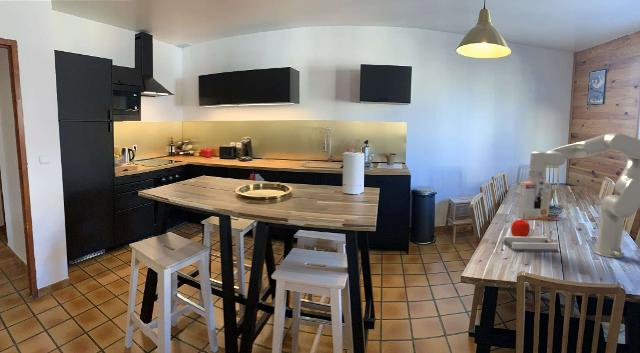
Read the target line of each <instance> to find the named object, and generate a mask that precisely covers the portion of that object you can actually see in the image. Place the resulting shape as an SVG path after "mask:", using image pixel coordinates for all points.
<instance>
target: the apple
mask: <svg viewBox="0 0 640 353" xmlns="http://www.w3.org/2000/svg"><path fill="white" fill-rule="evenodd" d="M530 231H531V226H530V223H529V222H528V221H527V220H521V219H516V220H514V221H513V222H512V224H511V227H510V232H511V235H512V236H513V237H529V234H530Z"/></svg>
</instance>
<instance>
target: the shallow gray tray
mask: <svg viewBox="0 0 640 353" xmlns="http://www.w3.org/2000/svg"><path fill="white" fill-rule="evenodd" d="M503 243H504V244H503ZM502 244H503V245H504V246H506V247H507V246H508V247H507V248H509V249H510V248H511V249H510V250H511V251H513V250H524V251H525V252H527V251H528V252H529V251H530V252H532V251H533V252H534V251H535V252H559V243H558V242H551V241H549V240H548V237H547V236H527V237H513V235H512V236H509V235H508V236H503V237H502ZM524 251H523V252H524Z"/></svg>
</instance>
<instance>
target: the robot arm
mask: <svg viewBox="0 0 640 353" xmlns="http://www.w3.org/2000/svg"><path fill="white" fill-rule="evenodd" d="M609 151H616V152H619V153H621V154H623V155H624V157H625V159H626V164H625V167H624V169H623V170H622V172H621V173H620V176H619V177H618V179H617V180H616V181H615V183H614V189H615V191H616V192H618V193H619V194H620V195H617V194H608V195H606V196H603V198H602V199H601V202H600V223H599V227H598V228H599V229H598V237H597V242H596V244H597V245H596V247H593V248H592V252H593V253H595V254H597V255H599V256H602V257H605V258H611V259H612V258H613V259H621V258H624V256H625V253H624V252H622V248H621V245H622V238H623V231H624V225H625V219H626V218H627V219H628V218H631V217H633V216H634V215H635V213H636V212H637V211H638V210H639V208H640V139H639V138H636V137H632V136H630V135H627V134H624V133H622V132H621V133H618V132H608V133H605V134H602V135H598V136H595V137H592V138H590V139H589V138H588V139H586V140H583V141H578V142H574V143H571V144H566V145H563V146H560V147H556V148H554V149H553V148H552V149H549V150H547V151H532V152H531V153H530V160H529V169H528V179H527V181H530V182H533V183H535V187H534V195H535V200H536V201H535V202H534V208H535V209H540V208H541V202H542V199H543V198H544V197H545V187H546V183H545V181H546V178H545V177H546V169H547V166H551V167H561V166H563V165H565V163H566V161H567V160H571V159H580V158H589V157H592V156H596V155H599V154H602V153H605V152H609ZM537 197H539V198H537Z"/></svg>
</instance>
